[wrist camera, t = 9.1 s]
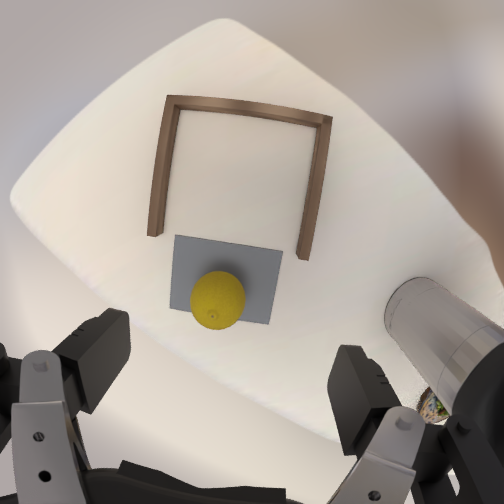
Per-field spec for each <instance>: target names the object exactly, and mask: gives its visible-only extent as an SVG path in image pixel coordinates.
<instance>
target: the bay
mask: <svg viewBox="0 0 504 504" xmlns="http://www.w3.org/2000/svg"><path fill="white" fill-rule="evenodd" d="M180 110H195V111H207V112H218V113H228V114H236V115H244V116H252V117H259V118H265V119H272V120H278V121H283V122H289V123H294V124H300V125H305V126H310V127H314V128H317V132H316V139H315V145H314V152H313V159H312V165H311V171H310V177H309V184H308V190H307V195H306V201H305V207H304V213H303V218H302V224H301V229H300V235H299V240H298V245H297V251H296V254H297V256H298V258H299V259H301V260H307V261H309V256H310V251H311V246H312V241H313V236H314V231H315V225H316V220H317V215H318V209H319V203H320V198H321V192H322V186H323V180H324V174H325V167H326V161H327V154H328V148H329V141H330V134H331V126H332V119H333V117H331V116H327V115H323V114H318V113H314V112H309V111H304V110H299V109H294V108H289V107H283V106H277V105H271V104H265V103H258V102H250V101H243V100H234V99H225V98H214V97H201V96H183V95H167V97H166V102H165V107H164V112H163V117H162V122H161V128H160V134H159V139H158V146H157V152H156V158H155V165H154V173H153V180H152V188H151V197H150V206H149V216H148V228H147V236H152V237H156V236H158V235H160V234H162V233H163V226H164V216H165V207H166V198H167V190H168V182H169V175H170V168H171V161H172V154H173V148H174V142H175V136H176V130H177V125H178V119H179V114H180Z"/></svg>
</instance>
